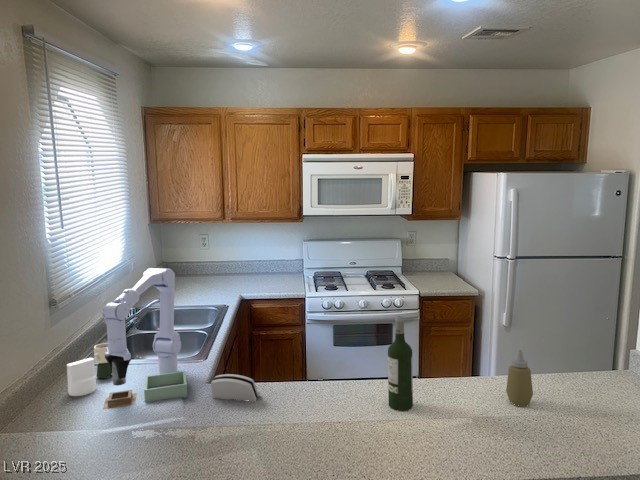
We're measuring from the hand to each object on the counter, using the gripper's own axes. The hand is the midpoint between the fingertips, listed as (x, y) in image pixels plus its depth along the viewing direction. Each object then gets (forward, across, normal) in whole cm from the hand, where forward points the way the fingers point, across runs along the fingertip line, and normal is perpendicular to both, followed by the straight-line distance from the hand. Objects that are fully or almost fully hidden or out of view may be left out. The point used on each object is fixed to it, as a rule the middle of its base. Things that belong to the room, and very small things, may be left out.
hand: (119, 376), depth 154 cm
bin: (+10, +5, +14) cm, 18 cm away
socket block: (+10, 0, 0) cm, 10 cm away
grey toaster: (+10, +28, +27) cm, 40 cm away
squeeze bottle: (+10, +107, +83) cm, 135 cm away
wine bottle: (+10, +77, +57) cm, 96 cm away
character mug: (+10, -30, +8) cm, 33 cm away
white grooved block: (+10, -20, -5) cm, 23 cm away
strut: (+2, 0, 0) cm, 2 cm away
